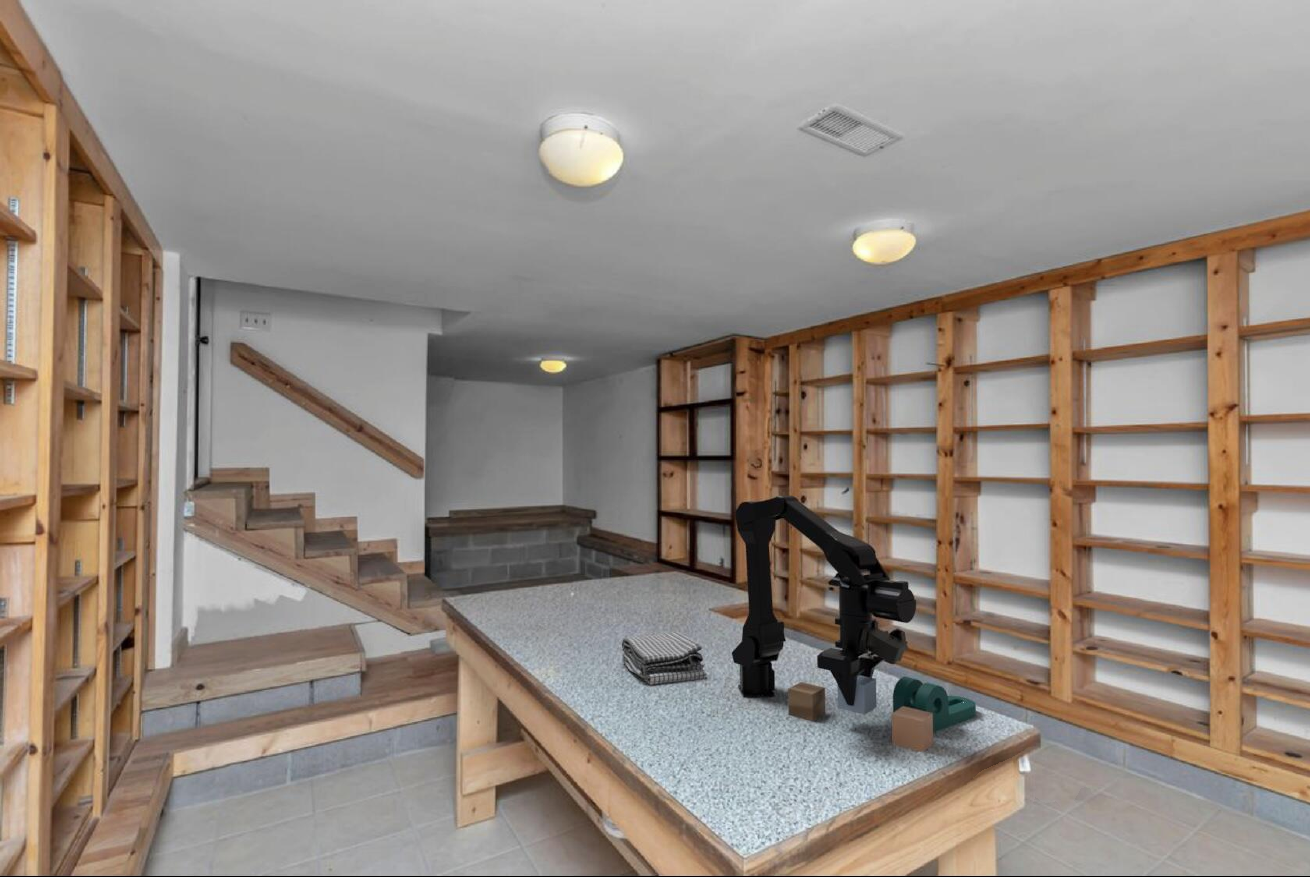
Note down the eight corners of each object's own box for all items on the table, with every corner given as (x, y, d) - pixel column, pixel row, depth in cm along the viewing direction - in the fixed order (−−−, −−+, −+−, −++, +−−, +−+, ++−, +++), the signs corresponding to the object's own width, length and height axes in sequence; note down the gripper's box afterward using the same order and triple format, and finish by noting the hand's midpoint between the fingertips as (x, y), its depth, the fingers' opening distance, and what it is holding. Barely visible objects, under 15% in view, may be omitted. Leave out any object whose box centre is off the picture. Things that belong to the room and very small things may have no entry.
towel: (677, 659, 160) (677, 627, 160) (708, 680, 143) (708, 644, 143) (619, 664, 155) (619, 631, 155) (644, 688, 137) (644, 650, 138)
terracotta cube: (922, 752, 105) (922, 721, 105) (892, 744, 108) (891, 713, 108) (933, 743, 108) (932, 712, 109) (903, 735, 112) (902, 706, 112)
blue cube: (864, 714, 111) (864, 685, 112) (837, 707, 115) (837, 679, 115) (876, 707, 115) (876, 678, 115) (850, 700, 118) (849, 673, 119)
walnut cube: (812, 721, 118) (812, 694, 118) (788, 715, 121) (788, 688, 122) (825, 714, 122) (825, 687, 122) (801, 708, 125) (801, 682, 125)
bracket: (926, 735, 112) (925, 689, 112) (893, 723, 117) (892, 679, 118) (983, 715, 122) (981, 672, 122) (949, 704, 127) (948, 664, 128)
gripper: (877, 629, 104) (879, 728, 103) (919, 611, 118) (921, 698, 117) (815, 618, 111) (816, 711, 110) (861, 603, 125) (862, 685, 124)
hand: (857, 701), depth 115 cm, fingers closed on blue cube, 5 cm apart
